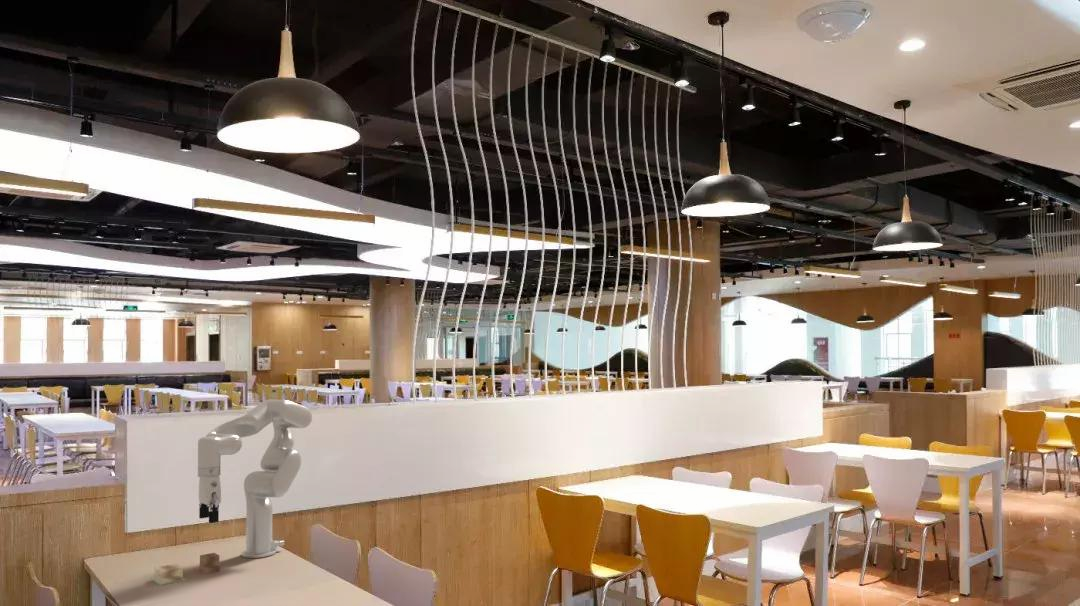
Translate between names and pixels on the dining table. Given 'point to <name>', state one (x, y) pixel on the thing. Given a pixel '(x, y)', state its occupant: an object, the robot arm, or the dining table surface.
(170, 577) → the maple block
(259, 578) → the dining table surface
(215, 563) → the walnut block
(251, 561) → the dining table surface
